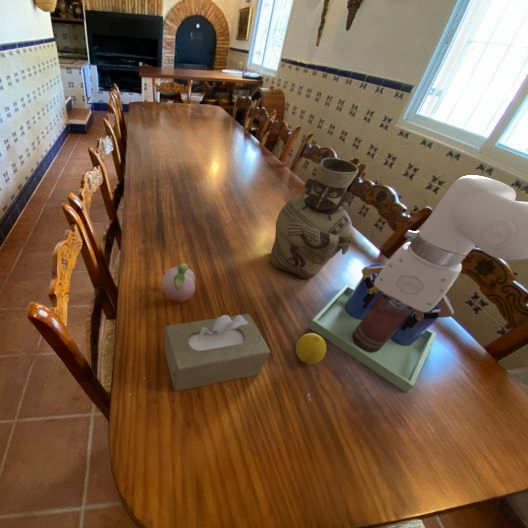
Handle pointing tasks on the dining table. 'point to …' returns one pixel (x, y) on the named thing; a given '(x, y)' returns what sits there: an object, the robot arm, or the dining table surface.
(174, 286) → the decorative fruit
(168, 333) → the tissue box
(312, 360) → the lemon
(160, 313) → the dining table surface
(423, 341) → the tray
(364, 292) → the tumbler
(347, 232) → the ceramic vessel
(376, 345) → the can
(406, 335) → the tumbler
